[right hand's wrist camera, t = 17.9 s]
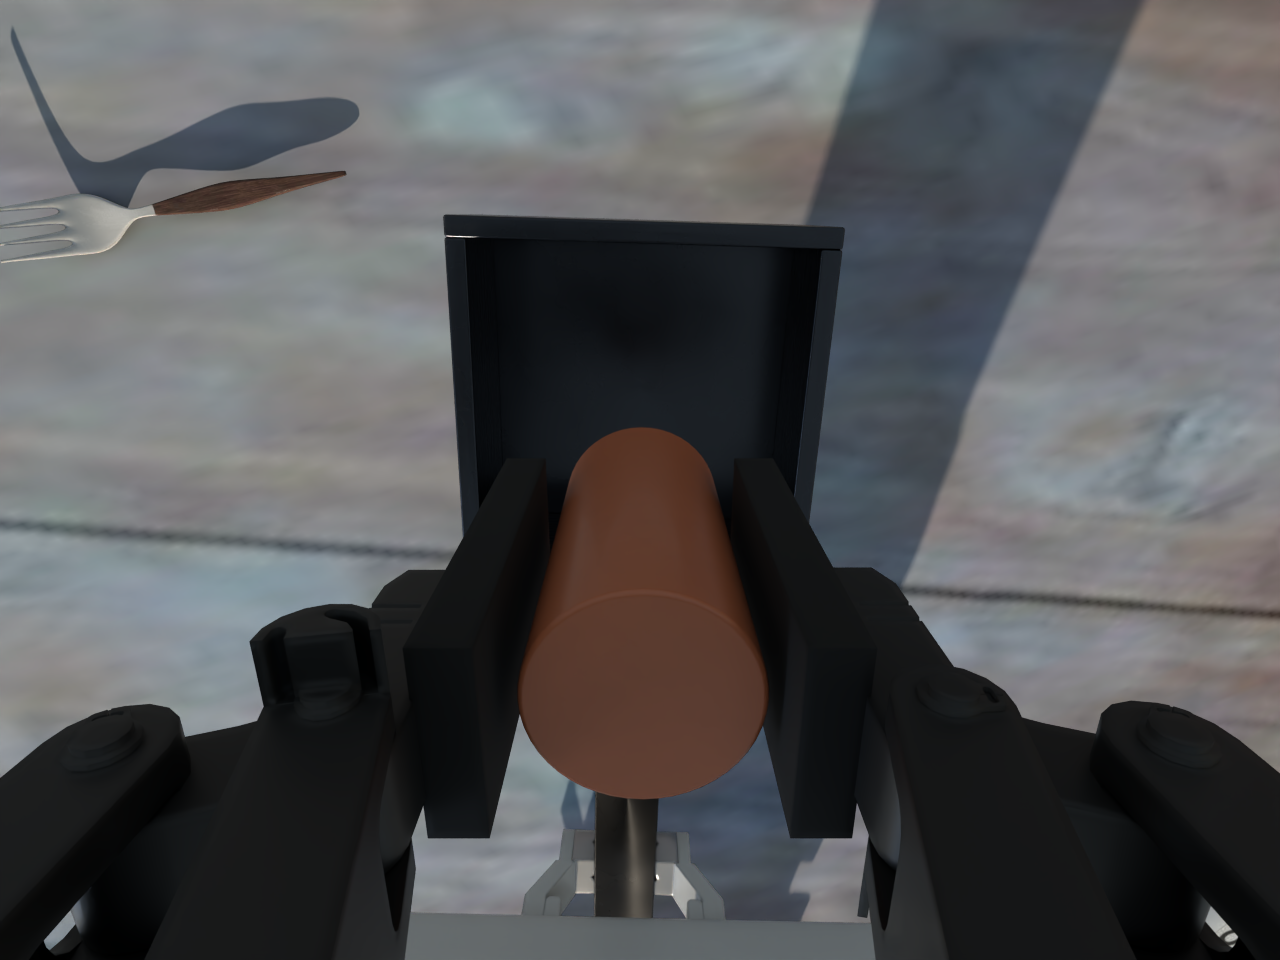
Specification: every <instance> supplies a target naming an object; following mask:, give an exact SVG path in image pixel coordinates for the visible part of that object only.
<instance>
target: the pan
mask: <svg viewBox="0 0 1280 960" xmlns="http://www.w3.org/2000/svg"><path fill="white" fill-rule="evenodd" d="M443 220H444V235H445V237H446V238H445V254H446V270H447V286H448V303H449V319H450V335H451V351H452V367H453V384H454V400H455V416H456V432H457V448H458V465H459V481H460V497H461V513H462V529H463V537H464V536H465V534H466V532H467V530H468V528H469V526H470V525H471V523H472V521H473V519H474V517H475V516H476V514H477V512H478V510H479V508H480V506H481V505H482V503H483V501H484V499H485V497H486V496H487V494H488V492H489V490H490V488H491V486H492V485H493V483H494V481H495V479H496V477H497V476H498V474H499V472H500V470H501V468H502V466H503V465H504V463H505V461H506V459H507V458H546V477H547V498H548V519H549V539H550V553H551V550H552V546H553V542H554V538H555V534H556V530H557V527H558V523H559V519H560V515H561V511H562V507H563V504H564V500H565V496H566V492H567V488H568V484H569V481H570V478H571V474H572V472H573V469H574V467H575V465H576V463H577V462H578V460H579V459H580V457H581V456H582V455H583V454H584V453H585V451H586V450H587V449H588V448H589V447H591V446H592V445H593V444H594V443H595V442H597V441H598V440H600V439H601V438H603V437H605V436H607V435H609V434H611V433H614V432H617V431H620V430H623V429H629V428H638V427H645V428H655V429H660V430H663V431H667V432H670V433H672V434H674V435H676V436H678V437H680V438H682V439H683V440H685V441H686V442H688V443H689V444H690V445H691V446H693V447H694V448H695V449H696V450H697V451H698V453H699V454H700V455H701V456H702V457H703V459H704V460H705V462H706V463H707V465H708V467H709V469H710V472H711V475H712V478H713V481H714V484H715V488H716V491H717V495H718V499H719V502H720V506H721V509H722V513H723V517H724V520H725V524H726V527H727V531H728V534H729V538H730V539H731V518H732V497H733V476H734V458H773V459H774V461H775V463H776V465H777V467H778V468H779V470H780V472H781V474H782V476H783V477H784V479H785V481H786V483H787V485H788V487H789V488H790V490H791V492H792V494H793V496H794V497H795V499H796V501H797V503H798V505H799V507H800V508H801V510H802V512H803V514H804V516H805V517H806V519H807V521H808V523H809V519H810V511H811V502H812V494H813V486H814V478H815V470H816V462H817V453H818V445H819V437H820V429H821V421H822V413H823V405H824V396H825V388H826V380H827V372H828V364H829V356H830V348H831V339H832V331H833V323H834V315H835V307H836V299H837V291H838V282H839V274H840V266H841V258H842V251H841V249H842V248H843V241H844V233H845V229H844V228H843V227H830V226H814V225H788V224H757V223H726V222H695V221H663V220H632V219H601V218H570V217H539V216H508V215H444V217H443ZM658 801H659V798H656V799H629V798H622V797H615V796H610V795H606V794H603V793H599V792H596V791H595V857H594V917H627V918H653V900H654V880H655V861H656V841H657V821H658Z"/></svg>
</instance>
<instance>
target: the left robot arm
mask: <svg viewBox="0 0 1280 960" xmlns="http://www.w3.org/2000/svg"><path fill="white" fill-rule="evenodd" d="M594 857H595V830H579V829H564V830H563V834H562V841H561V849H560V857H559V860H556V861H555V862H554V863H553V864H552V865H551V866H550V867H549V869H548V870H547V871H546V872H545V873H544V874H543V875H542V876H541V877H540V879H539V880H538V881H537V882H536V883H535V884H534V885H533V886H532V887H531V889H530V890H529V891H528V892H527V893H526V894H525V898H524V903H523V909H522V915H501V914H459V913H417V912H410V920H409V928H408V937H407V945H406V953H405V960H875V951H874V943H873V935H872V927H871V923H843V922H799V921H756V920H726V917H725V909H724V900H723V898H722V897H721V896H720V895H719V894H718V892H717V891H716V890H715V889H714V887H713V886H712V885H711V884H710V882H709V881H708V880H707V879H706V878H705V876H704V875H703V874H702V873H701V871H700V870H699V869H698V868H697V866H696V865H695V864H691V857H690V845H689V834H688V832H657V841H656V861H655V880H654V895H667V896H673V898H674V900H675V901H676V903H677V904H678V906H679V907H680V909H681V911H682V912H683V914H684V915H685V917H686V919H669V918H627V917H586V916H562V913H563V911H564V910H565V909H566V907H567V906H568V904H569V903H570V901H571V900H572V899H573V897H574V896H575V893H594Z"/></svg>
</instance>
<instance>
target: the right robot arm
mask: <svg viewBox="0 0 1280 960" xmlns="http://www.w3.org/2000/svg"><path fill="white" fill-rule="evenodd" d="M730 542H731V545H732V549H733V552H734V556H735V559H736V563H737V567H738V570H739V574H740V577H741V581H742V584H743V588H744V592H745V595H746V599H747V602H748V606H749V610H750V613H751V617H752V620H753V624H754V627H755V631H756V635H757V638H758V642H759V645H760V649H761V652H762V656H763V660H764V663H765V667H766V670H767V676H768V682H769V702H768V709H767V714H766V717H765V720H764V723H763V727H764V731H765V735H766V739H767V744H768V748H769V752H770V756H771V760H772V764H773V768H774V772H775V777H776V781H777V785H778V789H779V793H780V797H781V801H782V806H783V810H784V814H785V818H786V822H787V826H788V830H789V834H790V838H852V835H853V827H854V820H855V812H856V805H857V804H858V807H859V809H860V812H861V815H862V817H863V820H864V823H865V826H866V828H867V831H868V834H869V838H868V845H867V852H866V858H865V865H864V872H863V879H862V886H861V893H860V900H859V908H858V915H857V916H859V917H865V918H867V916H868V910H870V919H871V927H872V935H873V943H874V951H875V960H1280V773H1279V772H1278V771H1276V770H1275V769H1274V768H1273V767H1271V766H1270V765H1269V764H1268V763H1267V762H1265V761H1264V760H1263V759H1262V758H1260V757H1259V756H1258V755H1257V754H1256V753H1254V752H1253V751H1252V750H1251V749H1249V748H1248V747H1247V746H1246V745H1245V744H1243V743H1242V742H1241V741H1240V740H1238V739H1237V738H1235V737H1234V736H1232V735H1231V734H1229V733H1228V732H1226V731H1225V730H1223V729H1222V728H1220V727H1219V726H1217V725H1216V724H1214V723H1212V722H1210V721H1207V720H1205V719H1203V718H1201V717H1198V716H1196V715H1194V714H1192V713H1191V712H1189V711H1187V710H1183V709H1180V708H1177V707H1174V706H1173V707H1170V705H1165V704H1160V703H1152V702H1140V701H1127V702H1122V703H1116V704H1112V705H1110V706H1109V707H1108V708H1107V709H1106V710H1105V711H1104V712H1103V713H1101V717H1100V720H1099V724H1098V728H1097V732H1096V734H1094V733H1089V732H1084V731H1079V730H1074V729H1069V728H1064V727H1060V726H1055V725H1050V724H1045V723H1041V722H1037V721H1033V720H1029V719H1026V718H1022V717H1021V715H1020V712H1019V710H1018V708H1017V706H1016V705H1015V703H1014V702H1013V701H1012V700H1011V698H1010V697H1009V696H1008V694H1007V693H1006V692H1005V691H1004V690H1003V689H1001V688H1000V687H998V686H997V685H995V684H994V683H992V682H991V681H990V680H988V679H987V678H984V677H982V676H980V675H977V674H975V673H972V672H970V671H967V670H965V669H961V668H956V667H954V666H953V665H952V663H951V662H950V661H949V659H948V658H947V656H946V655H945V653H944V652H943V651H942V649H941V648H940V646H939V645H938V643H937V642H936V641H935V639H934V638H933V636H932V635H931V633H930V632H929V630H928V629H927V628H926V626H925V625H924V623H923V622H922V621H919V616H918V615H917V613H916V612H915V610H914V609H913V608H912V606H911V605H909V604H908V600H907V599H906V597H905V596H904V595H903V593H902V592H901V590H900V589H899V587H898V586H897V585H896V583H894V582H893V581H891V580H890V579H888V578H887V577H885V576H884V575H882V574H881V573H879V572H878V571H876V570H874V569H873V568H833V566H832V565H831V563H830V561H829V559H828V557H827V556H826V554H825V552H824V550H823V548H822V546H821V545H820V543H819V541H818V539H817V537H816V536H815V534H814V532H813V530H812V528H811V526H810V525H809V523H808V521H807V519H806V517H805V516H804V514H803V512H802V510H801V508H800V507H799V505H798V503H797V501H796V499H795V497H794V496H793V494H792V492H791V490H790V488H789V487H788V485H787V483H786V481H785V479H784V477H783V476H782V474H781V472H780V470H779V468H778V467H777V465H776V463H775V461H774V459H773V458H734V476H733V497H732V518H731V539H730ZM549 557H550V539H549V519H548V498H547V477H546V458H507V459H506V461H505V463H504V465H503V466H502V468H501V470H500V472H499V474H498V476H497V477H496V479H495V481H494V483H493V485H492V486H491V488H490V490H489V492H488V494H487V496H486V497H485V499H484V501H483V503H482V505H481V506H480V508H479V510H478V512H477V514H476V516H475V517H474V519H473V521H472V523H471V525H470V526H469V528H468V530H467V532H466V534H465V536H464V537H463V539H462V541H461V543H460V545H459V546H458V548H457V550H456V552H455V554H454V555H453V557H452V559H451V561H450V563H449V565H448V566H447V568H446V570H408V571H406V572H405V573H403V574H402V575H400V576H399V577H397V578H396V579H394V580H393V581H391V582H390V583H388V584H387V585H385V586H384V587H383V589H382V590H381V592H380V593H379V595H378V596H377V598H376V599H375V600H374V602H373V603H372V608H369V609H368V608H364V607H361V606H357V605H353V604H327V605H322V606H316V607H311V608H305V609H302V610H299V611H296V612H294V613H291V614H288V615H285V616H282V617H280V618H279V619H277V620H275V621H273V622H272V623H270V624H268V625H267V626H265V627H263V628H262V629H261V630H260V631H259V632H258V633H257V634H256V635H255V636H254V637H253V638H252V639H251V640H250V646H251V651H252V655H253V660H254V664H255V669H256V673H257V678H258V682H259V687H260V692H261V696H262V701H263V705H264V707H263V709H262V712H261V714H260V716H259V718H258V720H257V721H255V722H252V723H248V724H244V725H240V726H236V727H232V728H227V729H222V730H217V731H212V732H207V733H202V734H197V735H192V736H187V737H185V735H184V732H183V728H182V724H181V721H180V717H179V716H178V715H177V714H176V713H174V712H173V711H172V710H171V709H170V708H168V707H163V706H158V705H152V704H145V705H133V706H123V707H118V708H113V709H111V710H109V711H108V710H105V711H102V712H99V713H96V714H93V715H91V716H90V717H88V718H86V719H84V720H81V721H79V722H77V723H75V724H72V725H70V726H68V727H66V728H65V729H63V730H62V731H60V732H59V733H57V734H56V735H54V736H53V737H51V738H50V739H48V740H47V741H45V742H44V743H42V744H41V745H40V746H39V747H37V748H36V749H35V750H34V751H32V752H31V753H30V754H29V755H28V756H26V757H25V758H24V759H23V760H22V761H20V762H19V763H18V764H17V765H16V766H14V767H13V768H12V769H11V770H9V771H8V772H7V773H6V774H5V775H3V776H2V777H1V778H0V960H405V953H406V945H407V937H408V928H409V920H410V912H411V904H412V896H413V887H414V879H415V871H416V867H415V859H414V852H413V845H412V838H411V837H412V835H413V832H414V829H415V827H416V824H417V821H418V818H419V816H420V813H421V810H422V808H423V805H424V813H425V820H426V828H427V835H428V838H490V834H491V830H492V826H493V822H494V818H495V814H496V810H497V805H498V801H499V797H500V793H501V789H502V785H503V781H504V776H505V772H506V768H507V764H508V760H509V756H510V752H511V748H512V743H513V739H514V735H515V731H516V727H517V723H518V719H519V715H520V713H519V707H518V701H517V684H518V678H519V672H520V668H521V664H522V660H523V657H524V653H525V649H526V645H527V641H528V638H529V634H530V630H531V626H532V622H533V618H534V615H535V611H536V607H537V603H538V599H539V595H540V592H541V588H542V584H543V580H544V576H545V572H546V569H547V565H548V561H549ZM1210 907H1212V908H1213V909H1214V910H1215V911H1216V912H1217V914H1218V915H1219V916H1220V917H1221V918H1222V919H1223V920H1224V921H1225V923H1226V924H1227V925H1228V926H1229V927H1230V928H1231V929H1232V931H1233V932H1234V933H1235V934H1236V935H1237V936H1238V938H1237V941H1236V943H1235V945H1234V946H1233V947H1230V946H1228V945H1227V944H1226V943H1225V942H1224V941H1223V940H1222V939H1221V938H1220V937H1219V936H1218V935H1217V934H1216V933H1215V932H1214V931H1213V930H1212V928H1211V927H1210V926H1209V925H1208V924H1207V923H1206V918H1207V915H1208V913H1209V910H1210ZM70 910H71V913H72V915H73V918H74V921H75V923H76V924H75V926H74V927H73V928H72V929H71V930H70V931H69V933H68V934H67V935H66V936H65V937H64V938H63V939H62V940H61V941H60V942H59V943H58V944H56V945H55V946H54V947H53V948H52V949H51V950H48V949H47V948H46V946H45V943H44V940H45V938H46V937H47V936H48V935H49V934H50V933H51V932H52V930H53V929H54V928H55V927H56V926H57V925H58V924H59V922H60V921H61V920H62V919H63V918H64V917H65V916H66V914H67V913H68V912H69V911H70Z"/></svg>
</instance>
